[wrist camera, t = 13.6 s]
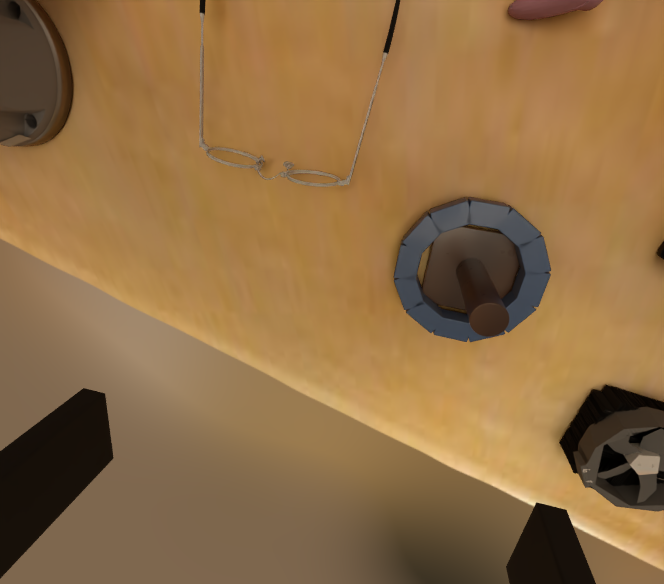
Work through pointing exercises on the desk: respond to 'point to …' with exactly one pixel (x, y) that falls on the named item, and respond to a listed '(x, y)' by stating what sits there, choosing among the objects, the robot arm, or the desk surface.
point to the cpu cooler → (619, 448)
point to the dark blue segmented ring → (480, 214)
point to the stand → (473, 275)
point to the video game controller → (548, 7)
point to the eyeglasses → (286, 164)
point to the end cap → (661, 251)
